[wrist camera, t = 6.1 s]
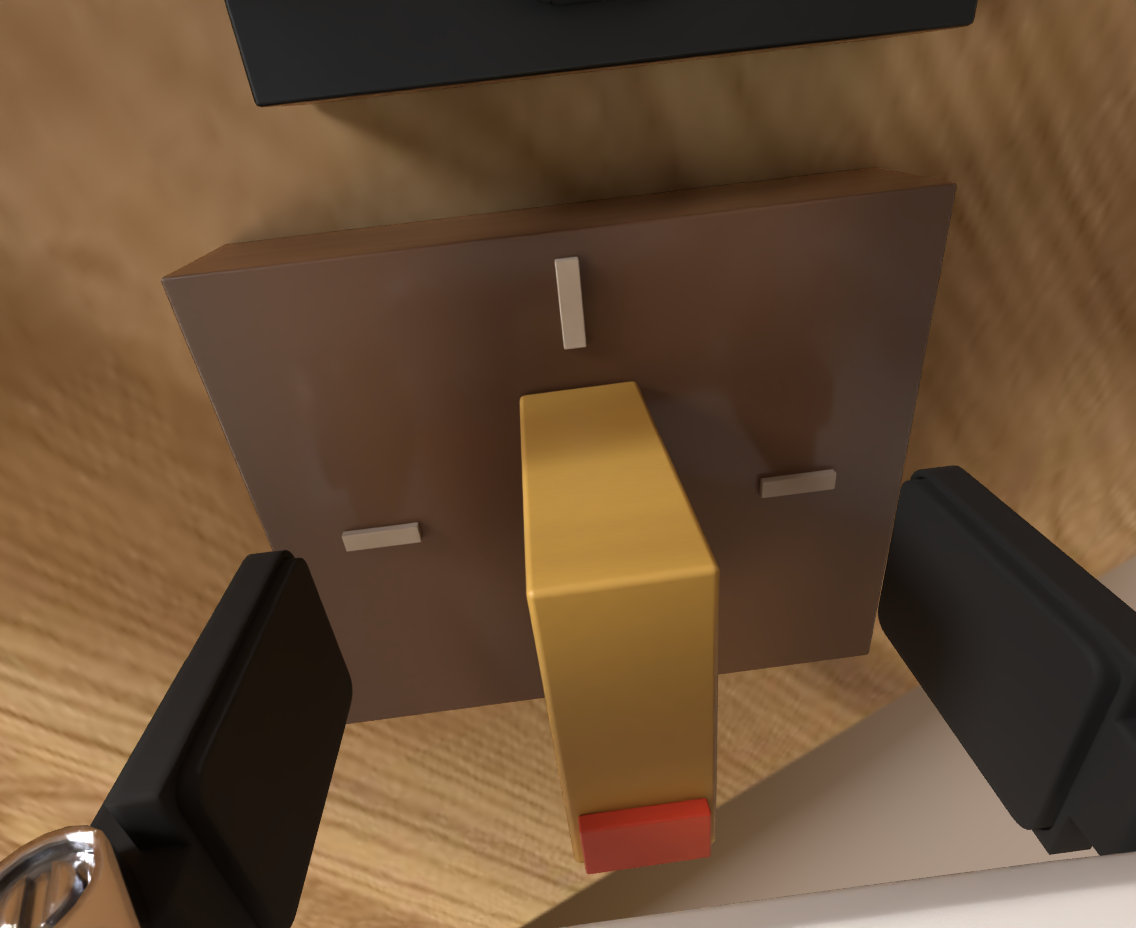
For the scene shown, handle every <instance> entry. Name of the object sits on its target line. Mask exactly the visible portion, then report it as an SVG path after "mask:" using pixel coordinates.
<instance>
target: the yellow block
mask: <svg viewBox="0 0 1136 928" xmlns="http://www.w3.org/2000/svg"><path fill="white" fill-rule="evenodd" d="M519 402H520V430H521V458H522V486H523V514H524V542H525V570H526V596H527V601H528V607H529V612H530V618H531V623H532V629H533V634H534V640H535V645H536V651H537V656H538V661H539V667H540V672H541V678H542V683H543V689H544V694H545V700H546V705H547V711H548V716H549V722H550V727H551V733H552V738H553V744H554V749H555V755H556V760H557V765H558V771H559V776H560V782H561V787H562V793H563V798H564V804H565V809H566V815H567V820H568V826H569V831H570V837H571V842H572V848H573V853H574V857H575V859H576V861H577V862H580V863H585V869H586V873H587V874H594V873H601V872H608V871H615V870H622V869H629V868H636V867H643V866H650V865H657V864H664V863H671V862H678V861H684V860H692V859H698V858H706V857H710V856H711V844H712V843H714V842H715V837H716V779H717V714H718V648H719V582H720V569H719V566H718V564H717V562H716V560H715V557H714V555H713V553H712V551H711V548H710V546H709V544H708V542H707V539H706V537H705V535H704V533H703V530H702V528H701V526H700V524H699V521H698V519H697V517H696V515H695V512H694V510H693V508H692V506H691V503H690V501H689V499H688V497H687V494H686V492H685V490H684V488H683V485H682V483H681V481H680V479H679V476H678V474H677V472H676V470H675V467H674V465H673V463H672V461H671V458H670V456H669V454H668V452H667V449H666V447H665V445H664V443H663V440H662V438H661V436H660V434H659V431H658V429H657V427H656V425H655V422H654V420H653V418H652V416H651V413H650V411H649V409H648V407H647V404H646V402H645V400H644V398H643V395H642V393H641V391H640V389H639V386H638V384H637V382H633V381H631V382H623V383H615V384H608V385H600V386H593V387H585V388H577V389H570V390H562V391H554V392H547V393H539V394H531V395H524V396H522V397H521V398H520V401H519Z"/></svg>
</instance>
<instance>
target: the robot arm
mask: <svg viewBox="0 0 1136 928" xmlns="http://www.w3.org/2000/svg"><path fill="white" fill-rule="evenodd" d="M878 618H879V622H880V625H881V627H882V630H883V631H884V633H885V635H886V636H887V637H888V639H889V640H890V642H891V643H892V645H893V646H894V648H895V649H896V650H897V652H898V653H899V655H900V656H901V658H902V659H903V661H904V662H905V663H906V665H907V666H908V668H909V669H910V671H911V672H912V674H913V675H914V676H915V678H916V679H917V681H918V682H919V684H920V685H921V686H922V688H923V689H924V691H925V692H926V693H927V695H928V697H929V698H930V699H931V701H932V702H933V704H934V705H935V706H936V708H937V709H938V711H939V712H940V714H941V715H942V717H943V718H944V720H945V721H946V723H947V724H948V725H949V727H950V728H951V730H952V731H953V733H954V734H955V735H956V737H957V738H958V740H959V741H960V743H961V744H962V746H963V747H964V748H965V750H966V751H967V753H968V754H969V756H970V757H971V759H972V760H973V761H974V763H975V764H976V766H977V767H978V769H979V770H980V772H981V773H982V774H983V776H984V777H985V779H986V780H987V782H988V783H989V784H990V786H991V787H992V789H993V790H994V792H995V793H996V795H997V796H998V797H999V799H1000V800H1001V802H1002V803H1003V805H1004V806H1005V808H1006V809H1007V810H1008V812H1009V813H1010V815H1011V816H1012V817H1013V819H1014V820H1015V821H1016V822H1017V823H1018V824H1019V825H1020V826H1021V827H1022V828H1024V829H1027V830H1031V829H1032V831H1033V832H1034V834H1035V835H1036V836H1037V838H1038V839H1039V841H1040V842H1041V843H1042V845H1043V846H1044V848H1045V849H1046V851H1047V852H1048V853H1049V855H1051V854H1058V853H1066V852H1073V851H1080V850H1088V849H1091V847H1092V846H1093V847H1094V848H1095V850H1096V851H1097V853H1098V854H1099V855H1100V856H1093V857H1085V858H1076V859H1067V860H1058V861H1049V862H1041V863H1034V864H1026V865H1018V866H1010V867H1003V868H996V869H988V870H980V871H972V872H965V873H958V874H950V875H942V876H935V877H927V878H919V879H912V880H904V881H897V882H889V883H881V884H874V885H866V886H858V887H851V888H843V889H836V890H828V891H822V892H814V893H807V894H799V895H792V896H785V897H777V898H770V899H762V900H755V901H748V902H741V903H733V904H727V905H719V906H711V907H705V908H697V909H690V910H682V911H676V912H668V913H661V914H653V915H646V916H640V917H632V918H625V919H617V920H611V921H603V922H596V923H588V924H581V925H574V926H567V927H560V928H1136V612H1135V611H1134V610H1133V609H1131V608H1130V607H1129V606H1128V605H1127V604H1126V603H1124V602H1123V601H1122V600H1121V599H1120V598H1118V597H1117V596H1116V595H1115V594H1114V593H1112V592H1111V591H1110V590H1109V589H1108V588H1106V587H1105V586H1104V585H1103V584H1101V583H1100V582H1099V581H1098V580H1097V579H1095V578H1094V577H1093V576H1092V575H1091V574H1089V573H1088V572H1087V571H1086V570H1085V569H1083V568H1082V567H1081V566H1080V565H1079V564H1077V563H1076V562H1075V561H1074V560H1072V559H1071V558H1070V557H1069V556H1068V555H1066V554H1065V553H1064V552H1063V551H1062V550H1060V549H1059V548H1058V547H1057V546H1056V545H1054V544H1053V543H1052V542H1051V541H1050V540H1048V539H1047V538H1046V537H1045V536H1044V535H1042V534H1041V533H1040V532H1039V531H1037V530H1036V529H1035V528H1034V527H1033V526H1031V525H1030V524H1029V523H1028V522H1027V521H1025V520H1024V519H1023V518H1022V517H1021V516H1019V515H1018V514H1017V513H1016V512H1015V511H1013V510H1012V509H1011V508H1010V507H1008V506H1007V505H1006V504H1005V503H1004V502H1002V501H1001V500H1000V499H999V498H998V497H996V496H995V495H994V494H993V493H992V492H990V491H989V490H988V489H987V488H986V487H984V486H983V485H982V484H981V483H979V482H978V481H977V480H976V479H975V478H973V477H972V476H971V475H970V474H969V473H967V472H966V471H965V470H964V469H962V468H960V467H959V466H945V467H937V468H929V469H921V470H917V471H915V472H914V473H913V475H912V476H911V479H910V480H908V481H905V482H904V483H903V484H902V487H901V490H900V495H899V500H898V505H897V511H896V516H895V521H894V527H893V532H892V537H891V543H890V548H889V553H888V559H887V564H886V569H885V574H884V580H883V585H882V590H881V596H880V601H879V606H878ZM352 694H353V689H352V680H351V677H350V674H349V671H348V669H347V666H346V664H345V661H344V658H343V656H342V653H341V651H340V648H339V645H338V643H337V640H336V638H335V635H334V632H333V630H332V627H331V625H330V622H329V619H328V617H327V614H326V612H325V609H324V606H323V604H322V601H321V599H320V596H319V593H318V591H317V588H316V586H315V583H314V580H313V578H312V575H311V573H310V570H309V567H308V565H307V563H306V561H305V560H304V559H303V558H295V557H294V555H293V554H292V553H291V552H290V551H288V550H281V551H273V552H265V553H257V554H250V555H248V556H247V557H246V558H245V559H244V560H243V562H242V564H241V565H240V567H239V569H238V571H237V572H236V574H235V576H234V578H233V579H232V581H231V583H230V584H229V586H228V588H227V590H226V591H225V593H224V595H223V597H222V598H221V600H220V602H219V604H218V605H217V607H216V609H215V611H214V612H213V614H212V616H211V618H210V619H209V621H208V623H207V625H206V626H205V628H204V630H203V631H202V633H201V635H200V637H199V638H198V640H197V642H196V644H195V645H194V647H193V649H192V651H191V652H190V654H189V656H188V658H187V659H186V660H185V662H184V664H183V665H182V667H181V669H180V670H179V672H178V674H177V676H176V677H175V679H174V681H173V683H172V684H171V686H170V688H169V690H168V691H167V693H166V695H165V697H164V698H163V700H162V702H161V703H160V705H159V707H158V709H157V710H156V712H155V714H154V716H153V717H152V719H151V721H150V723H149V724H148V726H147V728H146V730H145V731H144V733H143V735H142V737H141V738H140V740H139V742H138V743H137V745H136V747H135V749H134V750H133V752H132V754H131V756H130V757H129V759H128V761H127V763H126V764H125V766H124V768H123V770H122V771H121V773H120V775H119V776H118V778H117V780H116V782H115V783H114V785H113V787H112V789H111V790H110V792H109V794H108V796H107V797H106V799H105V801H104V803H103V804H102V806H101V808H100V810H99V811H98V813H97V815H96V816H95V818H94V820H93V822H92V823H91V825H90V826H88V825H82V826H67V827H64V828H61V829H58V830H55V831H52V832H48V833H46V834H44V835H42V836H40V837H38V838H36V839H34V840H32V841H30V842H29V843H27V844H25V845H23V846H21V847H20V848H18V849H17V850H16V851H14V852H13V853H12V854H10V855H9V856H8V857H6V858H5V859H3V860H2V861H1V862H0V928H290V927H291V925H292V923H293V921H294V918H295V915H296V912H297V908H298V904H299V901H300V897H301V893H302V889H303V885H304V881H305V878H306V874H307V870H308V866H309V862H310V859H311V855H312V851H313V847H314V843H315V839H316V836H317V832H318V828H319V824H320V820H321V817H322V813H323V809H324V805H325V801H326V798H327V794H328V790H329V786H330V782H331V778H332V775H333V771H334V767H335V763H336V759H337V756H338V752H339V748H340V744H341V740H342V737H343V733H344V729H345V725H346V721H347V717H348V714H349V710H350V706H351V702H352Z"/></svg>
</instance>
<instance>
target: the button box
mask: <svg viewBox="0 0 1136 928" xmlns="http://www.w3.org/2000/svg"><path fill="white" fill-rule="evenodd" d="M224 1H225V5H226V8H227V11H228V15H229V18H230V21H231V25H232V28H233V31H234V35H235V38H236V41H237V45H238V48H239V51H240V55H241V58H242V61H243V65H244V68H245V71H246V75H247V78H248V81H249V85H250V88H251V91H252V95H253V98H254V101H255V103H256V105H257V106H259V107H274V106H292V105H306V104H315V103H324V102H333V101H341V100H350V99H359V98H367V97H376V96H385V95H393V94H402V93H411V92H420V91H428V90H437V89H446V88H454V87H463V86H472V85H480V84H489V83H498V82H507V81H515V80H524V79H533V78H541V77H550V76H559V75H567V74H576V73H585V72H594V71H602V70H611V69H620V68H628V67H637V66H646V65H654V64H663V63H672V62H681V61H689V60H698V59H707V58H715V57H724V56H733V55H741V54H750V53H759V52H768V51H776V50H785V49H794V48H802V47H811V46H820V45H828V44H837V43H846V42H855V41H863V40H872V39H881V38H889V37H897V36H903V35H910V34H917V33H924V32H931V31H937V30H944V29H951V28H958V27H965V26H969V25H970V24H972V23H973V21H974V18H975V12H976V6H977V1H978V0H224Z"/></svg>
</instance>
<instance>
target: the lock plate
mask: <svg viewBox="0 0 1136 928" xmlns="http://www.w3.org/2000/svg"><path fill="white" fill-rule="evenodd" d="M955 192H956V184H955V183H952V182H947V181H942V180H937V179H932V178H927V177H922V176H917V175H912V174H907V173H902V172H897V171H892V170H887V169H882V168H877V167H873V168H865V169H856V170H848V171H840V172H831V173H823V174H814V175H806V176H798V177H789V178H781V179H772V180H764V181H755V182H747V183H739V184H730V185H722V186H713V187H705V188H697V189H688V190H680V191H671V192H663V193H654V194H646V195H638V196H629V197H621V198H612V199H604V200H596V201H587V202H579V203H570V204H562V205H553V206H545V207H537V208H528V209H520V210H511V211H503V212H495V213H486V214H478V215H469V216H461V217H453V218H444V219H436V220H427V221H419V222H410V223H402V224H394V225H385V226H377V227H368V228H360V229H352V230H343V231H335V232H326V233H318V234H309V235H301V236H293V237H284V238H276V239H267V240H259V241H251V242H242V243H234V244H225V245H223V246H221V247H219V248H218V249H216V250H214V251H212V252H210V253H208V254H206V255H204V256H203V257H201V258H199V259H197V260H195V261H193V262H191V263H189V264H188V265H186V266H184V267H182V268H180V269H178V270H176V271H174V272H173V273H171V274H169V275H167V276H165V277H163V278H162V279H161V282H162V285H163V287H164V290H165V292H166V295H167V297H168V299H169V302H170V304H171V307H172V309H173V311H174V314H175V316H176V319H177V321H178V323H179V326H180V328H181V331H182V333H183V336H184V338H185V340H186V343H187V345H188V348H189V350H190V352H191V355H192V357H193V360H194V362H195V364H196V367H197V369H198V372H199V374H200V377H201V379H202V381H203V384H204V386H205V389H206V391H207V393H208V396H209V398H210V401H211V403H212V406H213V408H214V410H215V413H216V415H217V418H218V420H219V422H220V425H221V427H222V430H223V432H224V434H225V437H226V439H227V442H228V444H229V447H230V449H231V451H232V454H233V456H234V459H235V461H236V463H237V466H238V468H239V471H240V473H241V475H242V478H243V480H244V483H245V485H246V488H247V490H248V492H249V495H250V497H251V500H252V502H253V504H254V507H255V509H256V512H257V514H258V517H259V519H260V521H261V524H262V526H263V529H264V531H265V533H266V536H267V538H268V541H269V543H270V545H271V548H272V550H273V551H281V550H288V551H290V552H291V553H292V554H293V555H294V557H295V558H303V559H304V560H305V561H306V563H307V565H308V567H309V570H310V573H311V575H312V578H313V580H314V583H315V586H316V588H317V591H318V593H319V596H320V599H321V601H322V604H323V606H324V609H325V612H326V614H327V617H328V619H329V622H330V625H331V627H332V630H333V632H334V635H335V638H336V640H337V643H338V645H339V648H340V651H341V653H342V656H343V658H344V661H345V664H346V666H347V669H348V671H349V674H350V677H351V680H352V689H353V694H352V702H351V706H350V710H349V714H348V717H347V721H346V724H351V723H359V722H366V721H374V720H381V719H389V718H396V717H403V716H411V715H418V714H426V713H433V712H441V711H448V710H456V709H463V708H471V707H478V706H486V705H493V704H501V703H508V702H516V701H523V700H531V699H538V698H545V694H544V689H543V683H542V678H541V672H540V667H539V661H538V656H537V651H536V645H535V640H534V634H533V629H532V623H531V618H530V612H529V607H528V601H527V596H526V570H525V542H524V514H523V486H522V458H521V430H520V402H519V401H520V398H521V397H522V396H524V395H531V394H539V393H547V392H554V391H562V390H570V389H577V388H585V387H593V386H600V385H608V384H615V383H623V382H631V381H633V382H637V384H638V386H639V389H640V391H641V393H642V395H643V398H644V400H645V402H646V404H647V407H648V409H649V411H650V413H651V416H652V418H653V420H654V422H655V425H656V427H657V429H658V431H659V434H660V436H661V438H662V440H663V443H664V445H665V447H666V449H667V452H668V454H669V456H670V458H671V461H672V463H673V465H674V467H675V470H676V472H677V474H678V476H679V479H680V481H681V483H682V485H683V488H684V490H685V492H686V494H687V497H688V499H689V501H690V503H691V506H692V508H693V510H694V512H695V515H696V517H697V519H698V521H699V524H700V526H701V528H702V530H703V533H704V535H705V537H706V539H707V542H708V544H709V546H710V548H711V551H712V553H713V555H714V557H715V560H716V562H717V564H718V566H719V569H720V582H719V648H718V674H725V673H733V672H740V671H748V670H755V669H763V668H770V667H778V666H785V665H793V664H800V663H808V662H815V661H823V660H830V659H838V658H845V657H853V656H860V655H867V654H868V653H869V649H870V643H871V638H872V633H873V628H874V622H875V617H876V612H877V606H878V601H879V596H880V590H881V585H882V580H883V574H884V569H885V564H886V558H887V553H888V548H889V543H890V537H891V532H892V527H893V521H894V516H895V511H896V505H897V500H898V495H899V489H900V484H901V479H902V474H903V468H904V463H905V458H906V452H907V447H908V442H909V436H910V431H911V426H912V420H913V415H914V410H915V405H916V399H917V394H918V389H919V383H920V378H921V373H922V367H923V362H924V357H925V351H926V346H927V341H928V335H929V330H930V325H931V320H932V314H933V309H934V304H935V298H936V293H937V288H938V282H939V277H940V272H941V266H942V261H943V256H944V251H945V245H946V240H947V235H948V229H949V224H950V219H951V213H952V208H953V203H954V197H955Z"/></svg>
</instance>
